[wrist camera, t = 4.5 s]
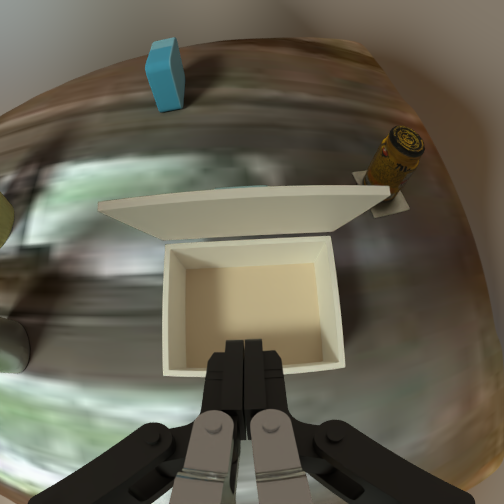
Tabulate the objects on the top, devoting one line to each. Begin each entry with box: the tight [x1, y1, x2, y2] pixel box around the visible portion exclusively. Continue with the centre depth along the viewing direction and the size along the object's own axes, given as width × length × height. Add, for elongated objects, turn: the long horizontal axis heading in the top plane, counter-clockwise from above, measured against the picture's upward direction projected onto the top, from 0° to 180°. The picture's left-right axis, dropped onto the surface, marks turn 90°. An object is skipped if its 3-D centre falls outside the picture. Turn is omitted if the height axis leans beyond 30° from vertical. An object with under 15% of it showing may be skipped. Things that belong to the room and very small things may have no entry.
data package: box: [145, 37, 185, 112], centre depth 45 cm, size 12×4×12 cm, turn 7°
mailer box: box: [162, 236, 345, 377], centre depth 32 cm, size 14×18×8 cm
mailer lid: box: [98, 185, 391, 240], centre depth 23 cm, size 14×18×1 cm
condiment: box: [352, 126, 425, 218], centre depth 36 cm, size 7×8×12 cm
